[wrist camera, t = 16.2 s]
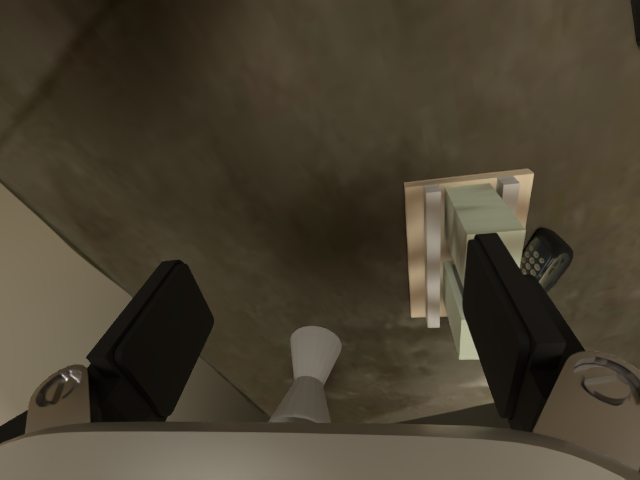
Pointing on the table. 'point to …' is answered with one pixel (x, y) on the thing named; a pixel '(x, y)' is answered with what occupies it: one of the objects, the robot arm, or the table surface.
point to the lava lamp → (309, 376)
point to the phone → (636, 18)
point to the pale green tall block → (457, 312)
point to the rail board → (444, 248)
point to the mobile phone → (546, 258)
